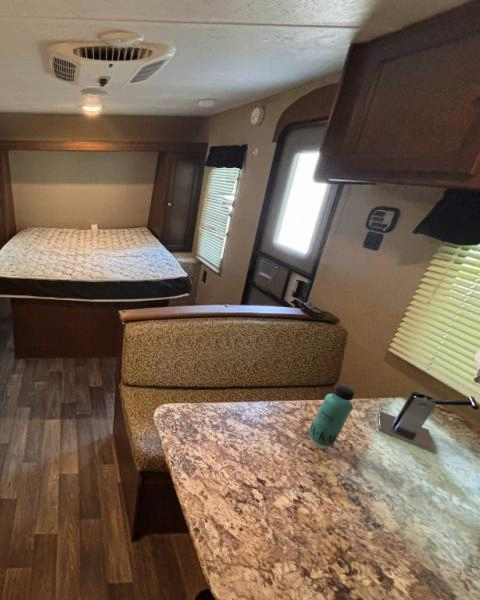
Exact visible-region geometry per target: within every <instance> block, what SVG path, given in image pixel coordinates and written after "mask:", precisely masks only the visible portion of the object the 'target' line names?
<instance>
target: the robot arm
mask: <svg viewBox="0 0 480 600" xmlns="http://www.w3.org/2000/svg"><path fill="white" fill-rule="evenodd" d="M474 360H475V363H476V364H477V368H476V372H475V375H474V377H473V382H474V383H476V384H479V385H480V346H478V348H477V350H476V352H475V355H474Z"/></svg>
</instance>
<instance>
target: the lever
mask: <svg viewBox="0 0 480 600" xmlns="http://www.w3.org/2000/svg"><path fill="white" fill-rule="evenodd" d="M413 397H418V398H421V399H424V400H427V401H430V402H433V403H435V404H436V406H471V408H472V409H474V410H479V409H480V406H479V404H478V402H477V400H476V398H475V397H474V396H468V397H467V399H433V400H428V399H427V397H425V396H413Z"/></svg>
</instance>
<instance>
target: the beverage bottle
mask: <svg viewBox="0 0 480 600" xmlns="http://www.w3.org/2000/svg"><path fill="white" fill-rule="evenodd" d="M354 395H355V391H354V390H353V389H351V388H350V387H348V386H346V385H342V384H339V385H337V386H335V389H334V390H333V393H328V394H326V395H325V397H324V400H323V401H322V404H321V406H320V407H319V408H318V410H317V412H316V414H315V416H314V418H313V421H312V422H311V424H310V426H309V429H308V436H309V438H310V439H311V440H312V441H314V442H315V443H316V444H318V445H321V446H324V447H332V446H333V445H334V444H335V443H336V441H337V440H338V438H339V436H340V435H341V431H342V430H343V427H344V426H345V424H346V422H347V419H348V418H349V416H350V414H351V412H352V411H353V410H354V405H353V403H352V402H351V401H352V400H353V398H354Z"/></svg>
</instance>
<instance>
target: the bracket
mask: <svg viewBox="0 0 480 600" xmlns="http://www.w3.org/2000/svg"><path fill="white" fill-rule="evenodd" d="M413 396H425V397H427V399H428V400H435V397H434V396H433V395H430V394H428V393H424V392H421V391H418V390H415V389H413V390H412V391H411V393H410V394H409V396H408V397H407V399H406V401H405V402H404V404H403V406H402V408H401V409H400V411H399V413H398V414H397V416H395V415H392V414H389V413H387V412H384V411H381V410H378V412H377V424H378V425H377V427H378V432H379V431H380V432H381V433H384V434H386V433H387V434H386V435H389V436H392V437H394V438H396V439H398V440H401V441H403V442H406V443H408V444H411V445H414V446H416V447H418V448H420V449H423V450H426V451H428V452H430V453H432V452H433V451H434V450H435V449H434V445H433V441H432V437H431V432H430V430H429V429H428V428H426V427H423V425H424V424H425V423H426V421H427V420H428V418H429V417H430V415H431V414H432V412H433V410H434V409H435V407H436V406H437V405H436V404H435V403H433V402H430V401H427V400H424V399H421V398H418V397H413Z"/></svg>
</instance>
